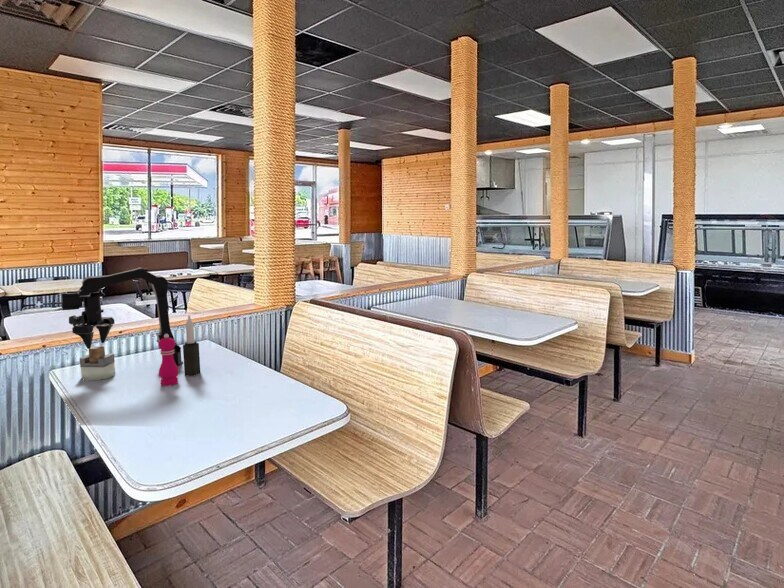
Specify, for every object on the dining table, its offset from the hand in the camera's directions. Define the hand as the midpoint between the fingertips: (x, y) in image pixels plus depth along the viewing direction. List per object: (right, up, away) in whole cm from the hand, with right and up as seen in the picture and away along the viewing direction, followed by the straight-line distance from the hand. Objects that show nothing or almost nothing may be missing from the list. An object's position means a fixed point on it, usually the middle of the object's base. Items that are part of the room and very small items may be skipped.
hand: (95, 345), depth 204 cm
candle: (+37, -13, +6) cm, 40 cm away
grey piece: (0, -13, +2) cm, 13 cm away
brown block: (0, -8, +1) cm, 8 cm away
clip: (0, -8, +1) cm, 8 cm away
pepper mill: (+33, -14, -6) cm, 36 cm away
